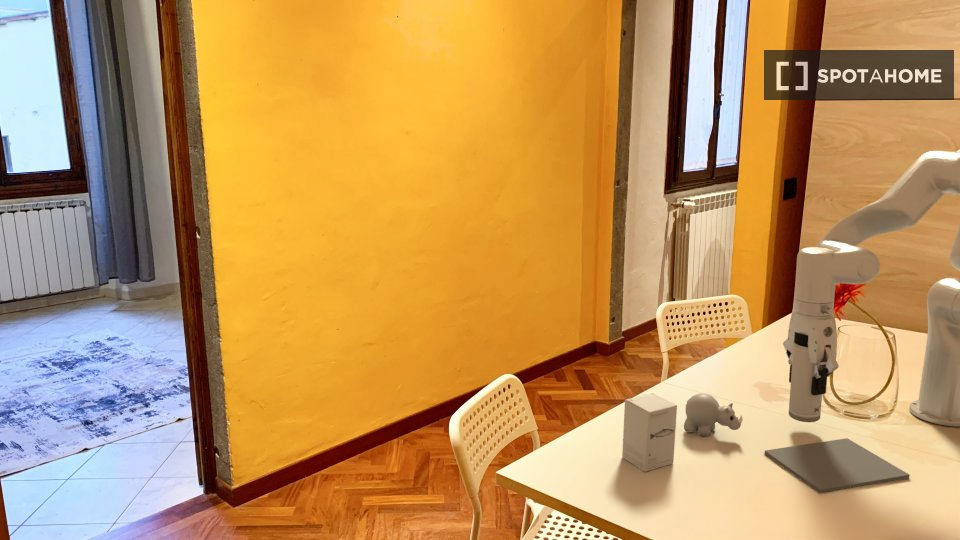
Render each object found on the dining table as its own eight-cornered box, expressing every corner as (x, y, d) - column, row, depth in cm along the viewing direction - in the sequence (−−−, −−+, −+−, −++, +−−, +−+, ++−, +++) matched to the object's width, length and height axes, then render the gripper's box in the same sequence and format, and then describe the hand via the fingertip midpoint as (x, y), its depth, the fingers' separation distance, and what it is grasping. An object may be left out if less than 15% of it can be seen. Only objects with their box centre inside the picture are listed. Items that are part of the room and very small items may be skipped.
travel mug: (825, 423, 155) (832, 333, 150) (791, 421, 156) (798, 332, 151) (818, 411, 161) (825, 323, 156) (785, 409, 162) (791, 323, 157)
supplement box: (645, 473, 142) (648, 412, 139) (621, 457, 148) (623, 398, 145) (674, 464, 145) (678, 404, 142) (649, 449, 151) (652, 391, 148)
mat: (846, 441, 154) (847, 438, 154) (909, 478, 139) (909, 474, 139) (764, 454, 149) (764, 450, 149) (819, 493, 134) (820, 489, 134)
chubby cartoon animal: (735, 448, 152) (738, 409, 150) (678, 433, 158) (681, 396, 157) (745, 435, 157) (748, 398, 155) (690, 421, 164) (693, 385, 162)
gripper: (859, 316, 146) (851, 401, 150) (800, 295, 162) (794, 371, 166) (827, 320, 144) (820, 406, 148) (771, 298, 160) (766, 376, 164)
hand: (806, 387), depth 157 cm, fingers closed on travel mug, 6 cm apart
